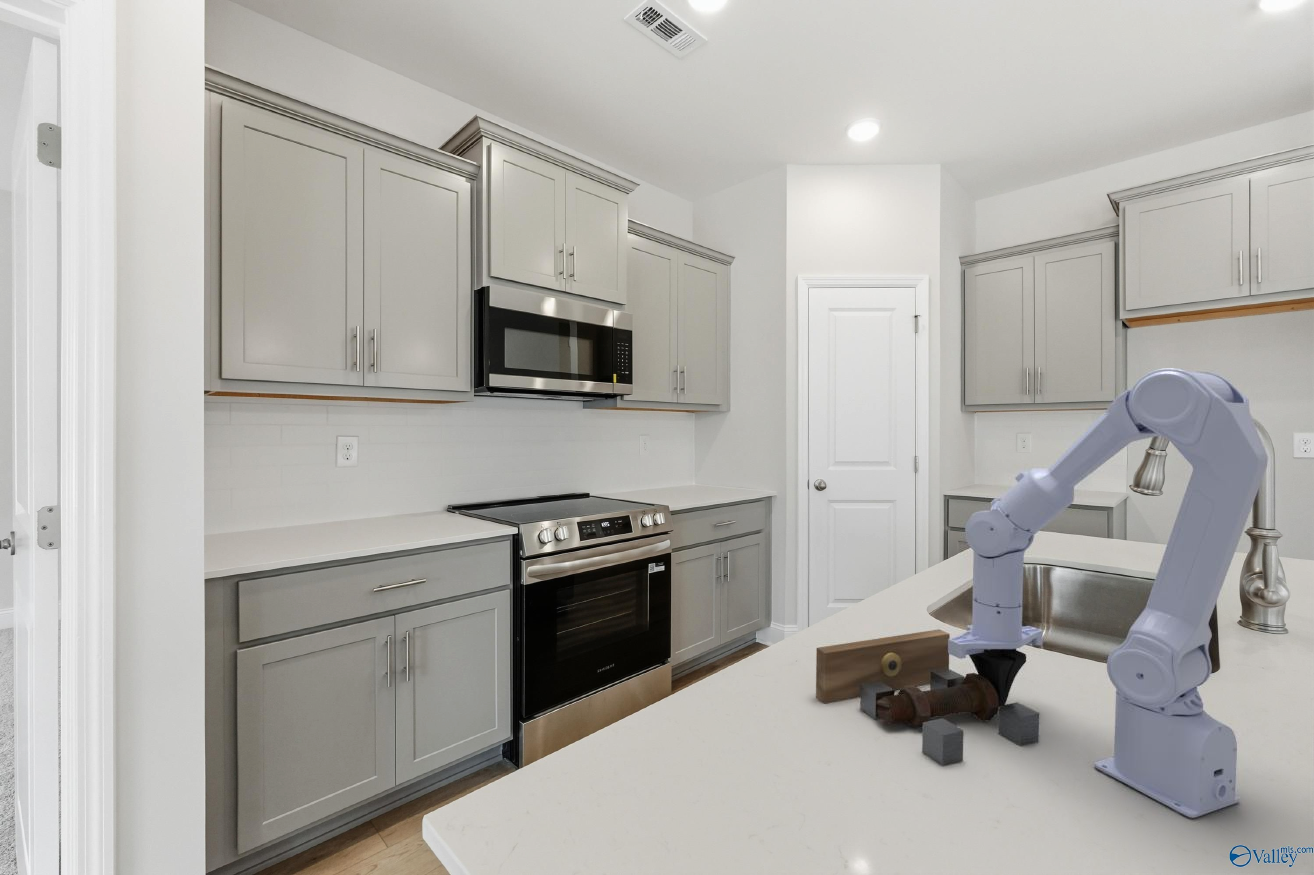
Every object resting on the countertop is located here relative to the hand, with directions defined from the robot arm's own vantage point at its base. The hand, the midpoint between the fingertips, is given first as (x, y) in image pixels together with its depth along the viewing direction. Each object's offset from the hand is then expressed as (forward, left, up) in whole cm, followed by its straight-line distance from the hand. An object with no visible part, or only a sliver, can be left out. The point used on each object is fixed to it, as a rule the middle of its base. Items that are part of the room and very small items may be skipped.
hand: (994, 703), depth 80 cm
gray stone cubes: (0, +9, -1) cm, 9 cm away
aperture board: (+11, +9, -1) cm, 14 cm away
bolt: (+1, +9, -2) cm, 9 cm away
